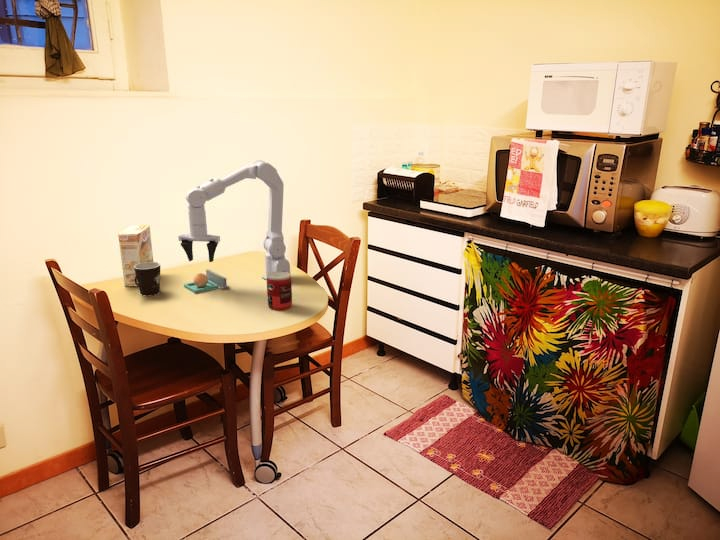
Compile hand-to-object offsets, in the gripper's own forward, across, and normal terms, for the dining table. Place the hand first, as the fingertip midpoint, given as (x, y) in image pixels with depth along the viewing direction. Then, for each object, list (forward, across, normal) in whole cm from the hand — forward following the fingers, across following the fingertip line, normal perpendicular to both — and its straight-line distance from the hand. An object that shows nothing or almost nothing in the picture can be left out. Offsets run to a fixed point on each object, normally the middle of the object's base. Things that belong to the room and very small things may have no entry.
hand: (201, 260), depth 194 cm
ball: (+10, 0, +1) cm, 10 cm away
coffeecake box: (+10, +27, -4) cm, 29 cm away
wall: (+10, -4, -4) cm, 11 cm away
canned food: (+10, -32, +15) cm, 37 cm away
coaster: (+10, 0, +1) cm, 10 cm away
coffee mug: (+10, +17, +10) cm, 22 cm away
